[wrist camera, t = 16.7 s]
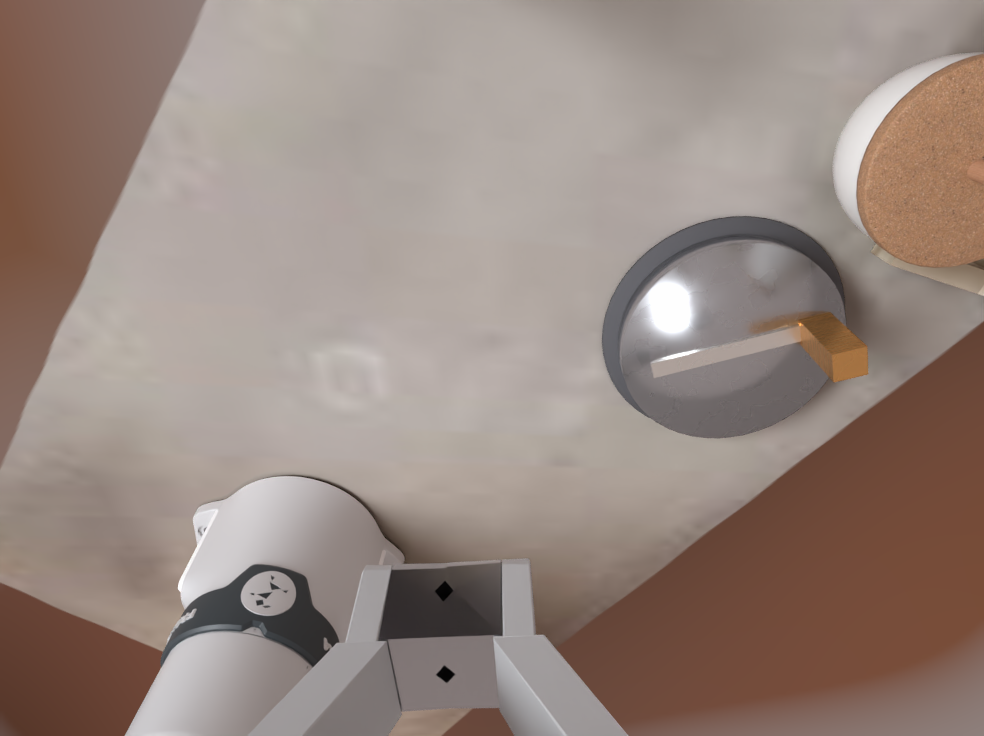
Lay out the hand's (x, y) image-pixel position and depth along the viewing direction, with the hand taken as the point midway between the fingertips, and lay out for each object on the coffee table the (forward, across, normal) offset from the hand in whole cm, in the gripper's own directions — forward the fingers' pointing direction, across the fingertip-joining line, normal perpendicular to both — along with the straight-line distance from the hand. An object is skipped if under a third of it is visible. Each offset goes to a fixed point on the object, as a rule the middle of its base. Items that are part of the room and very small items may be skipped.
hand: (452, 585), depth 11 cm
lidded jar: (+32, -26, -1) cm, 41 cm away
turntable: (+33, -17, +11) cm, 38 cm away
